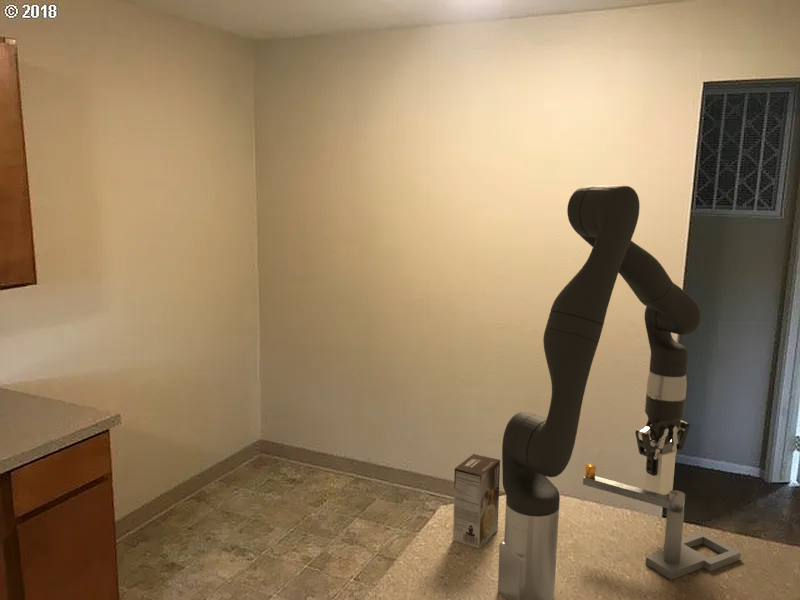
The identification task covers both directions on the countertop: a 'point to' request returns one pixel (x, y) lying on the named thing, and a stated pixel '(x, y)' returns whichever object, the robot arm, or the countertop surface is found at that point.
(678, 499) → the long flat grey beam
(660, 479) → the plug
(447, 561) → the countertop surface
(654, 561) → the dock
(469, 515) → the coffee box
